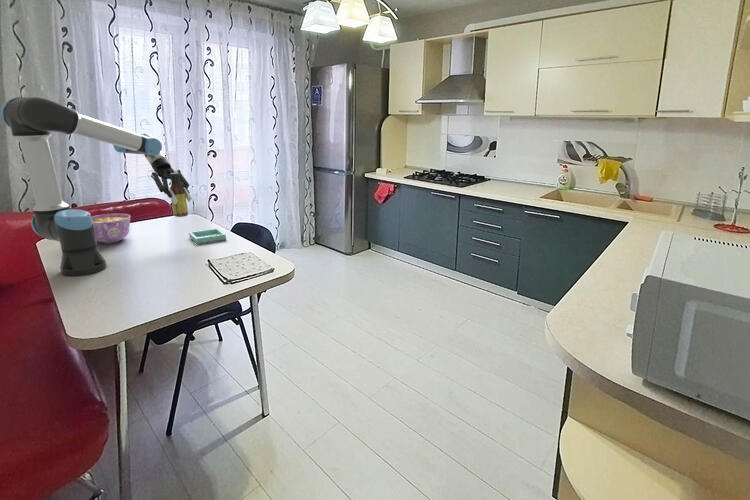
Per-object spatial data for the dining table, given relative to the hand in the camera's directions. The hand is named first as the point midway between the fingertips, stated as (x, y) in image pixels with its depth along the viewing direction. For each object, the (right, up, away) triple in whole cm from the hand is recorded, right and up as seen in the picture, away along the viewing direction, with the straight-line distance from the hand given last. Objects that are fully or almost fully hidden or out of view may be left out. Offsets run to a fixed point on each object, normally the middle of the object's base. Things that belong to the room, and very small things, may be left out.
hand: (183, 201), depth 195 cm
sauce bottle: (-3, -7, +4) cm, 8 cm away
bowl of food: (-41, -18, +12) cm, 46 cm away
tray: (+5, -17, +17) cm, 24 cm away
